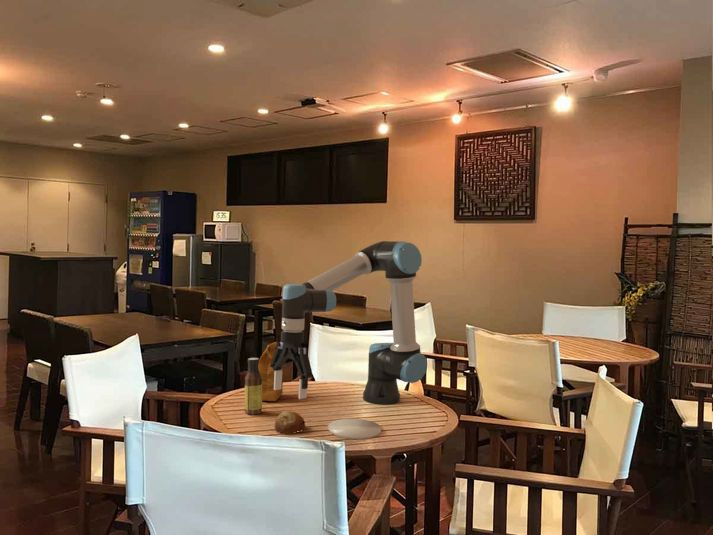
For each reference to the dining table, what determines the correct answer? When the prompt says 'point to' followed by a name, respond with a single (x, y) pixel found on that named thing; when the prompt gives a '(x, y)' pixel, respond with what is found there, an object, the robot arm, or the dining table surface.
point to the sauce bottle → (253, 388)
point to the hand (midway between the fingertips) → (289, 393)
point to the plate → (354, 428)
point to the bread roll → (289, 422)
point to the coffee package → (269, 375)
